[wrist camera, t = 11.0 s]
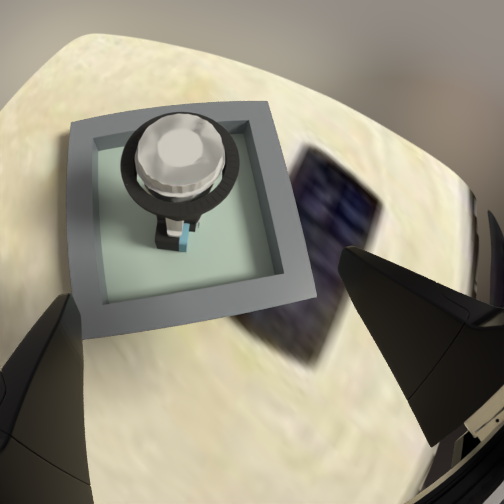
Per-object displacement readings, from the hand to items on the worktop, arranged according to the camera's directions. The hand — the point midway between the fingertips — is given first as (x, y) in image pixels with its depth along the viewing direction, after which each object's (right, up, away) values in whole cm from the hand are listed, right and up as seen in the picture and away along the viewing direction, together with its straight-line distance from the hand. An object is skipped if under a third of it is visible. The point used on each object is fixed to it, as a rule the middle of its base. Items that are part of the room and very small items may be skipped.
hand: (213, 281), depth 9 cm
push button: (-4, +4, +12) cm, 13 cm away
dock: (-4, +4, +13) cm, 14 cm away
